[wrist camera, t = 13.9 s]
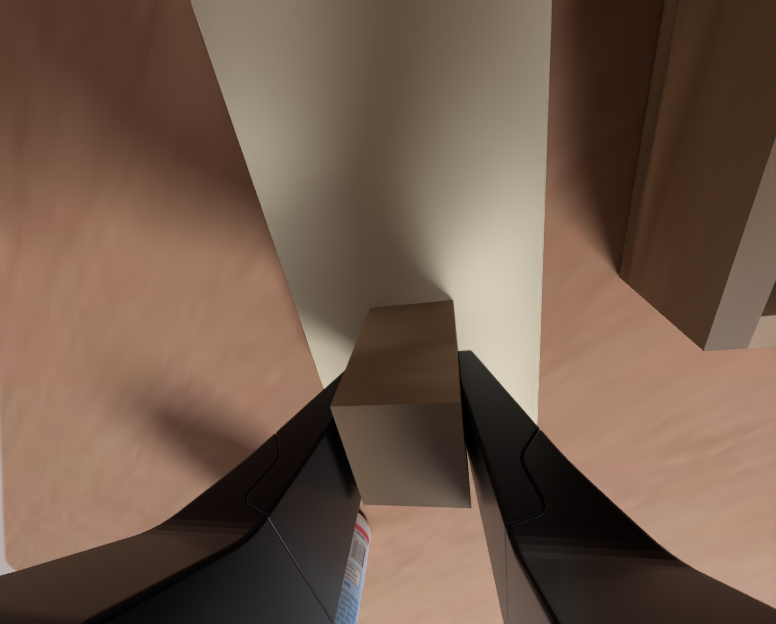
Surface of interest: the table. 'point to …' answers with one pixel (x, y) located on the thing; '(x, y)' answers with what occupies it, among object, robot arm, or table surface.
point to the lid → (399, 207)
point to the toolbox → (709, 175)
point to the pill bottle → (354, 574)
